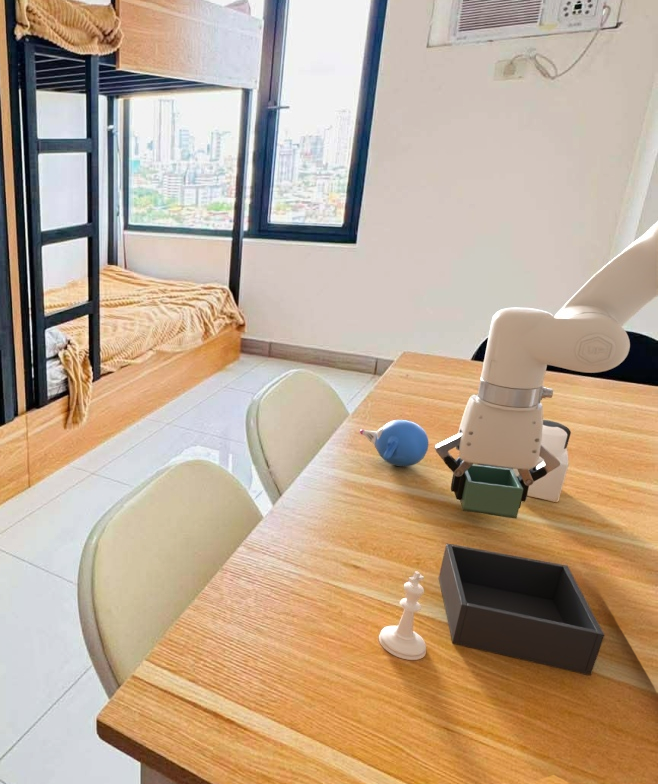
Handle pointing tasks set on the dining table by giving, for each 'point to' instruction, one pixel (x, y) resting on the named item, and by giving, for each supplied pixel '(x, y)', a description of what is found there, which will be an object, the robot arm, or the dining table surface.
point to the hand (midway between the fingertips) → (486, 499)
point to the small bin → (491, 491)
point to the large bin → (518, 608)
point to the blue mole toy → (399, 442)
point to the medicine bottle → (556, 444)
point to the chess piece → (406, 625)
